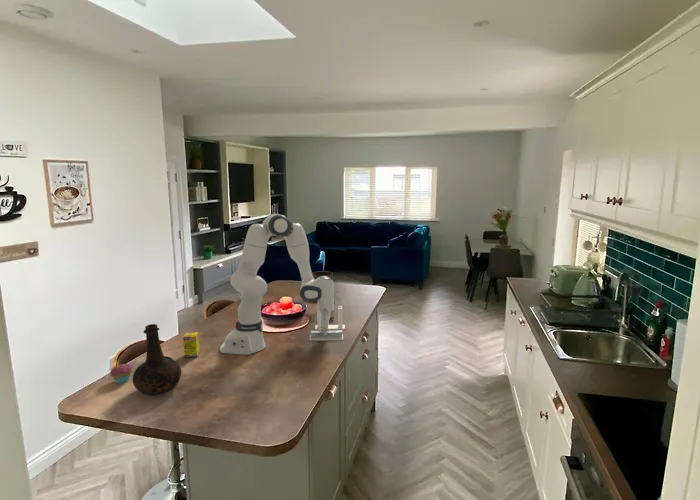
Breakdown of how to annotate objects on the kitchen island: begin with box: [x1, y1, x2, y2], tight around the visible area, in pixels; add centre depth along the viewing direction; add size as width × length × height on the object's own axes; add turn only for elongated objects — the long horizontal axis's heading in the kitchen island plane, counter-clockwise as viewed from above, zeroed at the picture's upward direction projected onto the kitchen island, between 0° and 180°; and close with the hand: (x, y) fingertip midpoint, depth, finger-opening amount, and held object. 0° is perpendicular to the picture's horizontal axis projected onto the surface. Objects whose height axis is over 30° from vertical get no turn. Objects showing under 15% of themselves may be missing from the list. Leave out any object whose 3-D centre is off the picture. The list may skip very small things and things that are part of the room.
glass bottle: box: [132, 323, 182, 396], centre depth 169 cm, size 18×18×28 cm
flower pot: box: [330, 301, 337, 319], centre depth 258 cm, size 9×9×9 cm
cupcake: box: [109, 356, 134, 385], centre depth 178 cm, size 9×8×12 cm
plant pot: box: [312, 270, 334, 280], centre depth 304 cm, size 15×15×16 cm
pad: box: [309, 333, 344, 341], centre depth 225 cm, size 18×8×1 cm, turn 91°
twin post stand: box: [314, 305, 346, 331], centre depth 238 cm, size 17×6×12 cm, turn 91°
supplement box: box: [182, 331, 200, 359], centre depth 203 cm, size 6×6×11 cm
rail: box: [310, 330, 343, 338], centre depth 225 cm, size 17×3×3 cm, turn 91°
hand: (325, 330), depth 224 cm, fingers open, 8 cm apart
